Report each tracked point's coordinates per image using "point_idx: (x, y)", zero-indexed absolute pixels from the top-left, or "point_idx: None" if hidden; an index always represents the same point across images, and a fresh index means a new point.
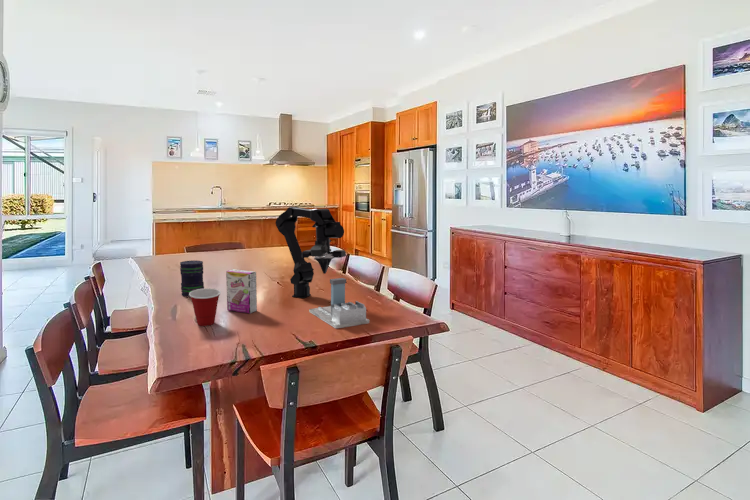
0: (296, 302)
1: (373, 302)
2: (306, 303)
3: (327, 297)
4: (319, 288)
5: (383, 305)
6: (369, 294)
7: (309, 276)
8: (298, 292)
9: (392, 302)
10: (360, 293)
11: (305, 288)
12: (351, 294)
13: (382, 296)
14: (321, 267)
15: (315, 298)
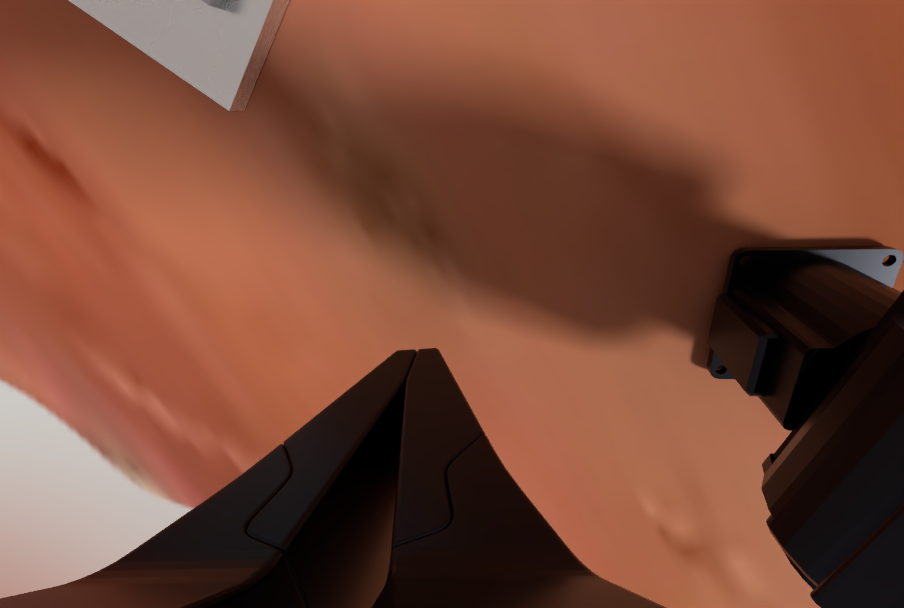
0: (755, 65)
1: (151, 370)
2: (623, 84)
3: (530, 366)
4: (720, 567)
5: (49, 328)
6: None
7: (812, 443)
8: (841, 274)
9: (64, 414)
10: None
11: (777, 325)
12: None
13: None
14: (451, 415)
15: (618, 298)
